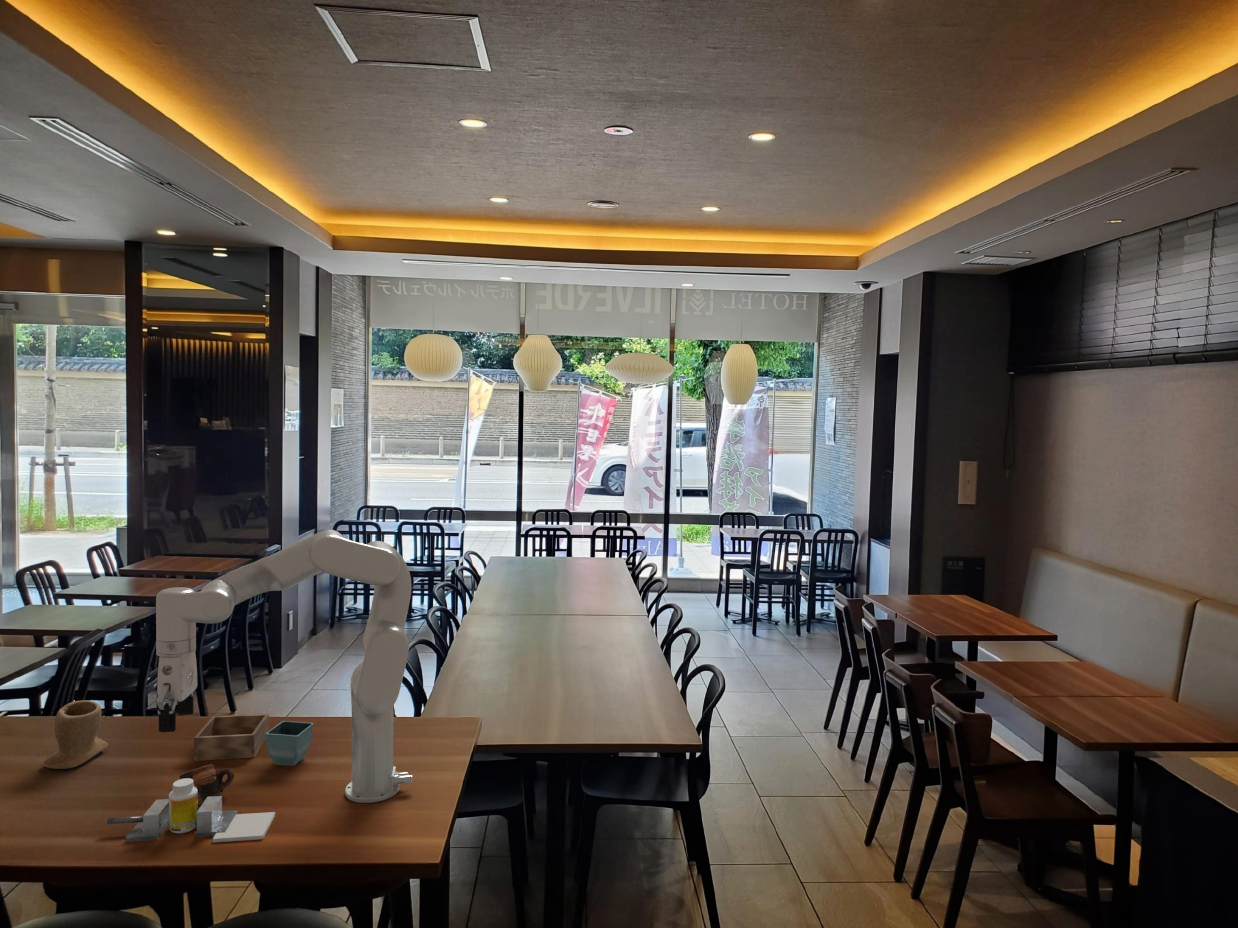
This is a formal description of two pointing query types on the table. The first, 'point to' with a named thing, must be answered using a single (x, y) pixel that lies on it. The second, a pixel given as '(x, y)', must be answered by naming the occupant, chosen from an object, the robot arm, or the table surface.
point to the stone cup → (76, 735)
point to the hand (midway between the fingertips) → (176, 722)
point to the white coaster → (246, 827)
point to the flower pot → (289, 742)
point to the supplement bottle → (183, 806)
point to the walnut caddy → (231, 737)
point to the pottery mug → (209, 781)
